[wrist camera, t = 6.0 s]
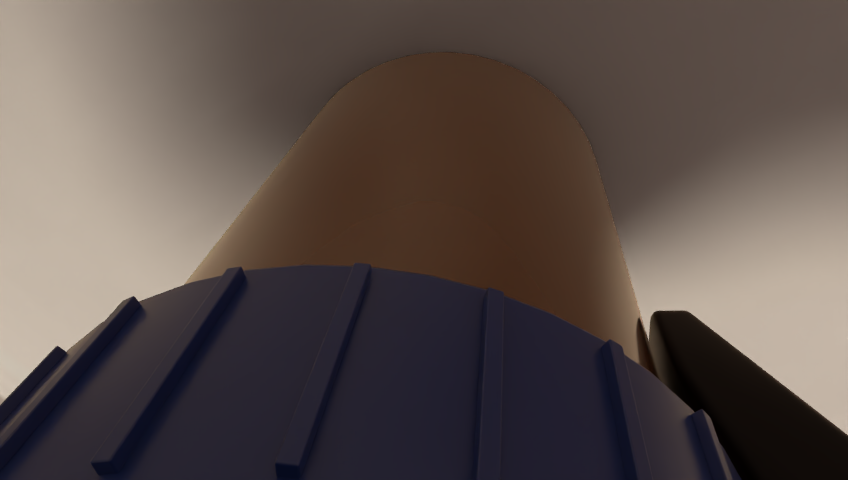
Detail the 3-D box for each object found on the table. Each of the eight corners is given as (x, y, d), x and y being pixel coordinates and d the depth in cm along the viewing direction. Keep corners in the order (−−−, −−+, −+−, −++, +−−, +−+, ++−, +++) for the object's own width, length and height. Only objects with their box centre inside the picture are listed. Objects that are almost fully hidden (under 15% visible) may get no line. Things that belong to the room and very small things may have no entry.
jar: (414, 364, 14) (295, 966, 6) (236, 163, 12) (-235, 672, 5) (656, 243, 12) (915, 917, 4) (489, -22, 10) (415, 334, 2)
